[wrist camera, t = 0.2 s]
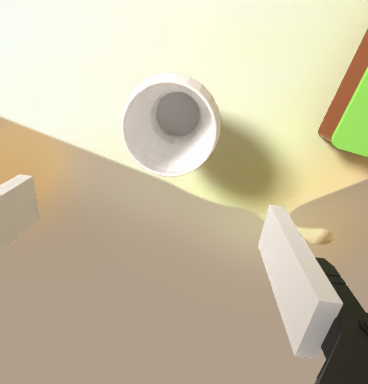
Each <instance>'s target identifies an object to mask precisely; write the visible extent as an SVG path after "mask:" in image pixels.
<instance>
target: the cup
mask: <svg viewBox="0 0 368 384" xmlns="http://www.w3.org/2000/svg"><path fill="white" fill-rule="evenodd" d="M220 130H221V119H220V114H219V109H218V106H217V104H216V102H215V100H214V98H213V96H212V95H211V93H210V92H209V91H208V90H207V89H206V88H205V87H204V85H203V84H201V83H200V82H198V81H197V80H195V79H193V78H192V77H189V76H186V75H182V74H179V73H162V74H159V75H156V76H152V77H149V78H148V79H146V80H145V81H143V82H142V83H140V84H139V85H138V86H137V87H136V88H135V89H134V91H133V92H132V93H131V94H130V95H129V98H128V100H127V102H126V104H125V106H124V110H123V114H122V121H121V132H122V139H123V142H124V144H125V147H126V150H127V151H128V153H129V154H130V155H131V157H132V158H133V160H134V161H135V162H136V163H138V164H139V165H140V166H141V167H142V168H144V169H145V170H147V171H149V172H151V173H153V174H157V175H160V176H164V177H177V176H181V175H185V174H188V173H190V172H192V171H194V170H196V169H197V168H199V167H200V166H201V165H202V164H203V163H204V162H205V161H206V160H207V159H208V158H209V157H210V155H211V154H212V152H213V151H214V149H215V148H216V146H217V143H218V140H219V136H220Z"/></svg>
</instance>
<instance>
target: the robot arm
mask: <svg viewBox="0 0 368 384" xmlns="http://www.w3.org/2000/svg"><path fill="white" fill-rule="evenodd" d="M37 220H39V214H38V207H37V200H36V193H35V187H34V180H33V176H28V175H18V176H16V177H14V178H12V179H10V180H9V181H7V182H5V183H3V184H1V185H0V254H1V253H2V252H3V251H4V250H5V249H7V248H8V247H9V246H10V245H11V244H12V243H13V242H14V241H15V240H17V239H18V238H19V237H20V236H21V235H22V234H23V233H24V232H25V231H27V230H28V229H29V228H30V227H31V226H32V225H33V224H34V223H35V222H37ZM258 247H259V249H260V252H261V256H262V259H263V262H264V265H265V268H266V271H267V274H268V277H269V280H270V283H271V286H272V289H273V292H274V295H275V298H276V301H277V304H278V307H279V310H280V313H281V316H282V319H283V323H284V326H285V329H286V331H287V335H288V338H289V341H290V343H291V347H292V350H293V353H294V356H297V357H304V358H312V359H316V357H317V356H318V354H319V352H320V350H321V348H322V350H323V353H324V355H325V357H326V361H325V363H324V365H323V367H322V369H321V371H320V373H319V375H318V377H317V380H316V382H315V384H368V313H366V312H365V311H364V310H363V308H362V307H361V305H360V304H359V302H358V301H357V299H356V298H355V296H354V295H353V293H352V292H351V291H350V289H349V288H348V286H346V283H345V282H344V280H343V279H342V278H341V277H340V274H339V273H338V272H337V270H336V269H335V267H334V266H333V265H331V264H330V263H329V262H328V261H326V260H325V259H324V258H316V257H314V255H313V254H312V252H311V250H310V249H309V247H308V246H307V244H306V242H305V241H304V239H303V237H302V236H301V234H300V233H299V231H298V229H297V228H296V226H295V224H294V223H293V221H292V220H291V218H290V216H289V215H288V213H287V211H286V210H285V208H284V207H283V206H276V205H269V208H268V212H267V215H266V219H265V223H264V226H263V230H262V234H261V237H260V241H259V245H258Z"/></svg>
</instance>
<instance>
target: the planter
mask: <svg viewBox="0 0 368 384" xmlns="http://www.w3.org/2000/svg"><path fill="white" fill-rule="evenodd" d="M318 134H319V136H321V137H322V138H324V139H326V140H328V141H330V142H332V144H333V146H335V147H336V148H338V149H341V150H345V151H348V152H352V153H355V154H359V155H362V156H365V157H368V29H367V31H366V33H365V35H364V37H363V39H362V41H361V44H360V46H359V48H358V50H357V52H356V54H355V56H354V58H353V60H352V62H351V64H350V66H349V68H348V70H347V72H346V74H345V76H344V78H343V80H342V83H341V85H340V87H339V89H338V91H337V93H336V95H335V97H334V99H333V101H332V103H331V105H330V107H329V109H328V111H327V113H326V115H325V117H324V119H323V122H322V124H321V126H320V128H319V130H318Z"/></svg>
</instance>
